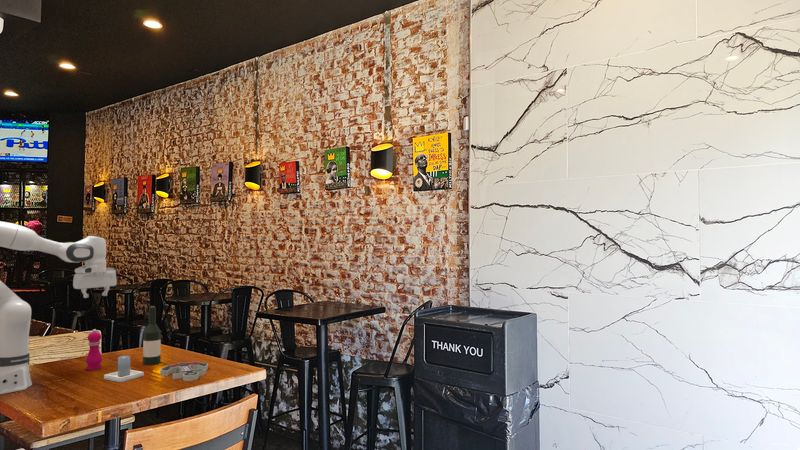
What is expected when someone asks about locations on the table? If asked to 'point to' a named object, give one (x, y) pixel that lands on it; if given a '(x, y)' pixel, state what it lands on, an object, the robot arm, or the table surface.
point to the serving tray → (132, 375)
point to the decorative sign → (185, 370)
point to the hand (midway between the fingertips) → (95, 296)
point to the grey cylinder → (123, 366)
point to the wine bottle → (151, 340)
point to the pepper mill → (94, 351)
